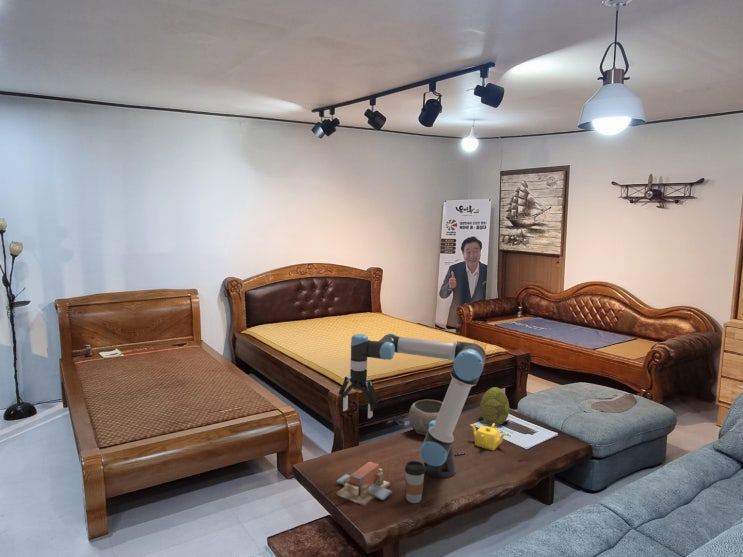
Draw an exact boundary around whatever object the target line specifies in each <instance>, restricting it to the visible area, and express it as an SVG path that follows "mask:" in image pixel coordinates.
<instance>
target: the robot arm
mask: <svg viewBox="0 0 743 557" xmlns="http://www.w3.org/2000/svg"><path fill="white" fill-rule="evenodd" d="M350 338H351V339H350V365H349V366H350V371H349V372H350V373H349V374H350V375H347V376H345V377H344V380H343V382H342V385H341V387H340V389H339V391H338V393H337V394H338V395H339V396H341V404H342V411H343V412H345V411H347V410H348V409H349V396H348V394H349V393H350V392H351V391H352V390H353V389H356V390H359V391H361V392H362V393H363V395H364V396H365V398H366V399H367V401H368V404H367V419H371V418H372V417H373V415H374V414H373V413H374V412H373V411H374V410H375V404H377V403H379V399H378V396H377V393H376V391H375V388H374V385H373V384H374V382H373V380H371V381H368V380H367V377H368V358H371V359H379V360H384V361H385V360H389V361H390V360H391V361H392V359H393V358H394V356H395V353H396V354H404V355H412V356H418V357H419V356H421V357H426V358H428V357H429V358H435V359H441V360H449V361H453V365H452V368H451V371H450V372H449V373H450V376H451V380H450V383H449V385H448V388H447V391H446V393H445V396H444V398H443V400H442V402H443V403H442V406H441V408H440V411H439V413H438V416H437V419H436V420H433V421H431V422H430V423H429V426H428V427H429V429H428V432H427V434H426V436H424V439H423V442H422V444H421V445H420V450H419V455H420V457H421V459H422V460H423V463H422V464H423V465H424V468H425V473H426V475H427V474H428V475H430V476H432V477H435V478H443V479H444V478H450V477H452V476H454V475H455V474H456V472H457V464H456V460H455V458H454V441H455V428H456V426H457V423H458V421H459V419H460V417H461V416H460V415H461V413H462V410H463V408H464V406H465V403H466V401H467V398H468V396H469V393H470V391H471V389H472V387H474V386H476V385H477V384H478V382H479V379H480V376H481V374H482V373H483V370H484V366H485V364H486V361H487V355H486V354H487V353H486V351H485V349H484V348H483V347H482V346H481V345H479V344H477V343H474V342H466V341H459V340H457V341H455V342H447V341H440V340H439V341H438V340H430V339H421V338H415V337H414V338H413V337H406V336H405V337H404V336H398V335H396V334H394V333H388V334H385V335H384V336H383V337H381V338H380V339H379V340H377V341H376V340H369V337H368V335H367V334H364V333H355V334H353V335H352V336H351V337H350ZM349 383H350V385H349ZM347 386H348V387H347Z"/></svg>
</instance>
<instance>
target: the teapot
mask: <svg viewBox="0 0 743 557" xmlns="http://www.w3.org/2000/svg"><path fill="white" fill-rule="evenodd" d="M469 426H471V428H472V432H473V437H474V445H475V446H476V447H479V448H481V447H482V449H485V450H489V449H490V451H495V450H496V449H497V448H498V447H499V446H500V444H502V442H503V440H504V437H505V436H506V435H507V433H505V432H503V433H500V430H499V429H497V428H495V426H496V425H495V423H493V424H491V427H490V426H485V425H482V426H480V427H479V428H478V429H476V425H473V424H471V423H470V424H469Z"/></svg>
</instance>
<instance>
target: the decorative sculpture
mask: <svg viewBox="0 0 743 557" xmlns="http://www.w3.org/2000/svg"><path fill="white" fill-rule="evenodd" d="M479 411H480V416H481V418H482V419H483V421H484V422H485V423H487V422H488V423H487V424H489V423H491V424H490V425H492V424H493V423H495V424H499V425H503V424H504V423H505V422H506V421H507V419H508V417H509V415H510V414H509V413H510V404H509V399H508V396H507V395H506V393H505V392H504V391H503V390H502V389H501V388H499V387H497V386H496V387H494V386H493V387H491V388H489V389H487V391H485V393H484V394H483V395H482V397H481V400H480V404H479Z"/></svg>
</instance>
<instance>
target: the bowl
mask: <svg viewBox="0 0 743 557" xmlns="http://www.w3.org/2000/svg"><path fill="white" fill-rule="evenodd" d="M442 403H443V401H440V400H436V399H421V400H417V401H415V402H413V403H412V405H411V406H410V408H409V412H408V416H407V417H408V419H407V420H408V423H409V425H410V427H411V428H412V429H413V430H414V431H415V432H417V433H418V434H420V435H422V436H424V437H426V434H427V432H428V429H429V427H428V426H429V423H430V422H431V421H433V420H436V419H437V416H438V413H439V411H440V408H441V406H442Z"/></svg>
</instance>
